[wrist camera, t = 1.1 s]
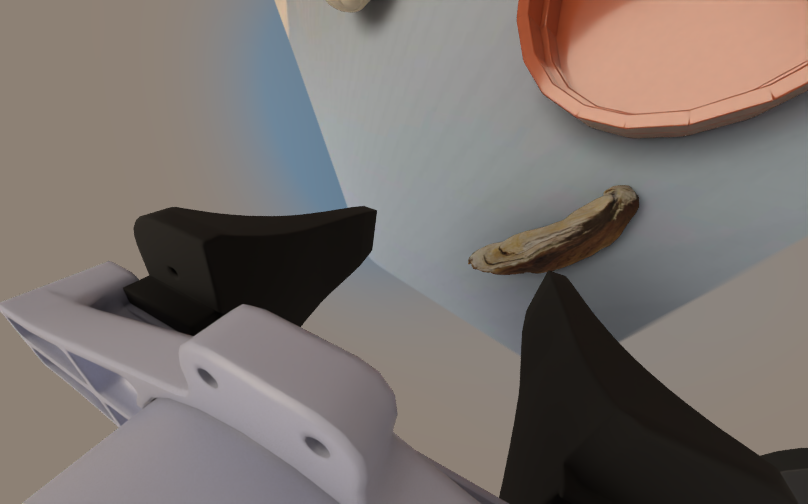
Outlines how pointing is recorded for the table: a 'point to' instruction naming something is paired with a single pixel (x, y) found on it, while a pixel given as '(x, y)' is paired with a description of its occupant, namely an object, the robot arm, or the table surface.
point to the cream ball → (348, 5)
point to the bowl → (665, 60)
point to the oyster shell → (562, 237)
